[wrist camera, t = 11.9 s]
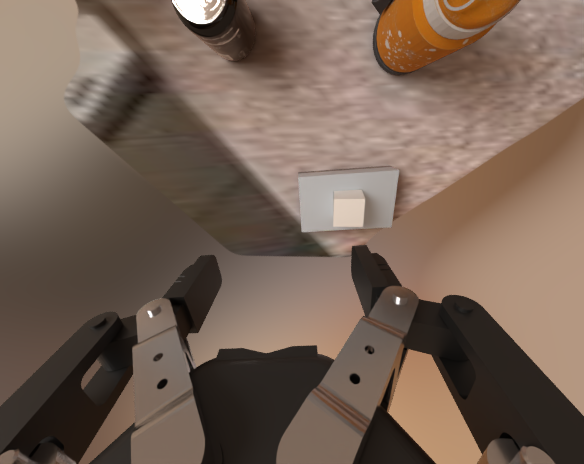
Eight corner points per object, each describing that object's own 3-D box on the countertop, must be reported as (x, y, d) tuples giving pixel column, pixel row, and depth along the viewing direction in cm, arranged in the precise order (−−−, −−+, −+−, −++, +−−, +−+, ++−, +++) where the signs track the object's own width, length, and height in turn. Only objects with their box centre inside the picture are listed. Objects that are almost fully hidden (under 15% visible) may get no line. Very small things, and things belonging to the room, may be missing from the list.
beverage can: (213, -10, 29) (161, -88, 18) (262, 12, 30) (240, -51, 19) (205, 52, 32) (156, 15, 21) (250, 70, 33) (225, 43, 22)
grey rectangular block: (390, 165, 38) (399, 170, 34) (383, 218, 42) (391, 227, 39) (298, 172, 39) (298, 177, 35) (301, 223, 43) (301, 232, 40)
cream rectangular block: (360, 185, 38) (365, 198, 32) (358, 209, 40) (363, 227, 34) (334, 186, 39) (333, 199, 32) (333, 209, 41) (333, 226, 34)
